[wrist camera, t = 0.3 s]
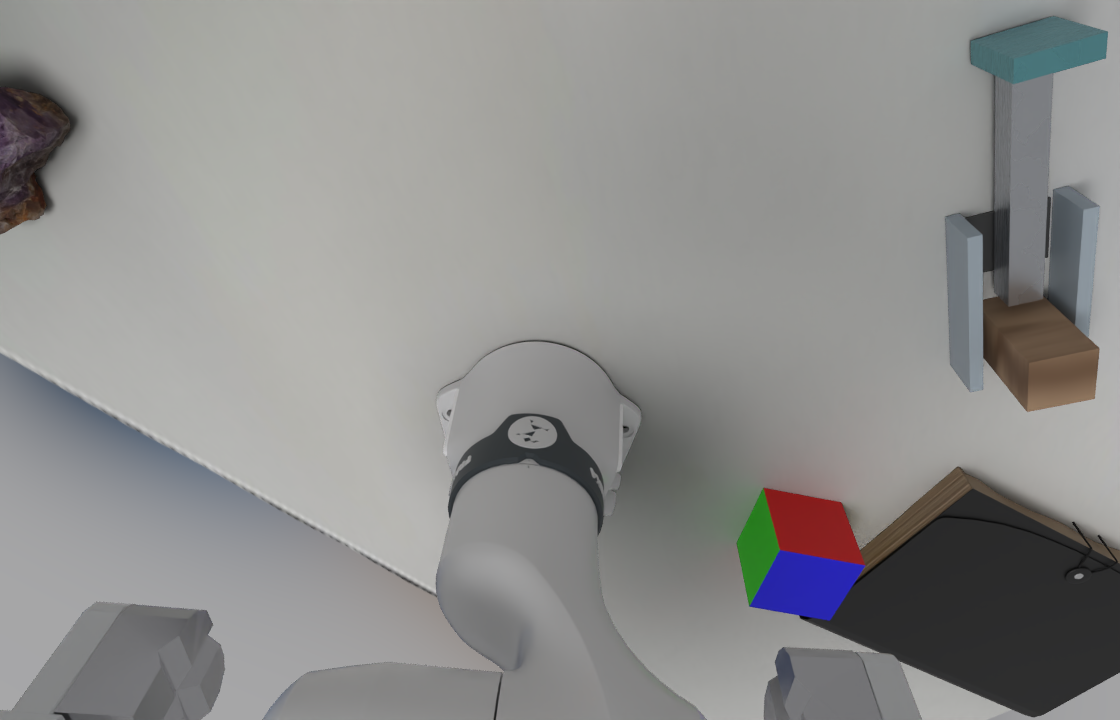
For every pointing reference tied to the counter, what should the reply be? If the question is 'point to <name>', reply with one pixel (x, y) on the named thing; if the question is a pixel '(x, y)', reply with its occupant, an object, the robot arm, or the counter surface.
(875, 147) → the counter surface
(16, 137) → the rock
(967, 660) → the black book
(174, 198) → the counter surface
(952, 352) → the channel
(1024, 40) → the teal headed mallet
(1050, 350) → the walnut block
